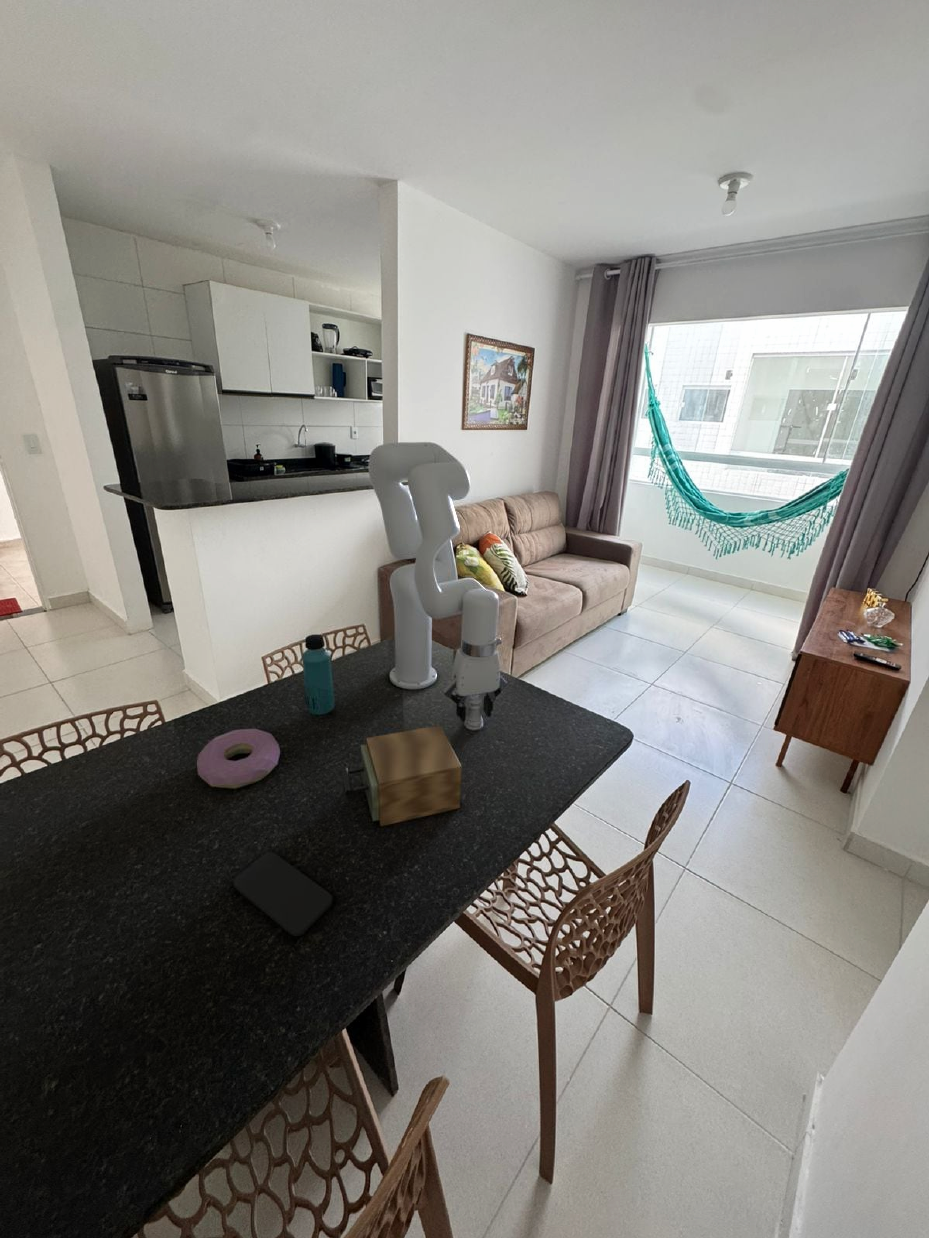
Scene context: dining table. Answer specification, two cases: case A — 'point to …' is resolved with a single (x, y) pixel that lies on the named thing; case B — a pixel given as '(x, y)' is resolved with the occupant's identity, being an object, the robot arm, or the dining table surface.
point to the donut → (243, 771)
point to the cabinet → (415, 774)
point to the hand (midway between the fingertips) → (474, 715)
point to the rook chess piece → (474, 713)
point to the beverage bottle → (317, 676)
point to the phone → (283, 893)
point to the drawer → (368, 781)
